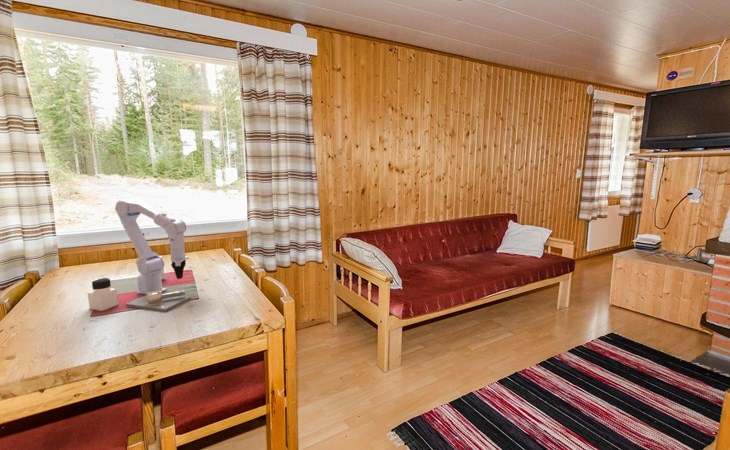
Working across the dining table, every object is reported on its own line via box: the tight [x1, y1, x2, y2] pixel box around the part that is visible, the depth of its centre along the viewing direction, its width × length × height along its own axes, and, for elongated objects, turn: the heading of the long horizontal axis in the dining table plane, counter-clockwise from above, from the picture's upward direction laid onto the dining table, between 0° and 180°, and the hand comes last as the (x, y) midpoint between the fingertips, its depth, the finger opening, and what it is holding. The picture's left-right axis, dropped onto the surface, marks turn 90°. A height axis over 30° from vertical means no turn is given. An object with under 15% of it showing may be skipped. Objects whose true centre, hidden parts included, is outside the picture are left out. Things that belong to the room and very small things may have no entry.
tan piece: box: [146, 289, 186, 304], centre depth 153 cm, size 14×6×4 cm, turn 125°
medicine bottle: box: [87, 277, 119, 312], centre depth 147 cm, size 7×7×12 cm
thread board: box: [125, 292, 191, 313], centre depth 153 cm, size 20×14×1 cm
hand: (179, 277), depth 161 cm, fingers open, 3 cm apart
